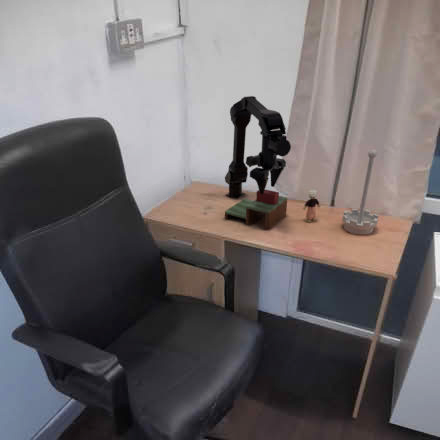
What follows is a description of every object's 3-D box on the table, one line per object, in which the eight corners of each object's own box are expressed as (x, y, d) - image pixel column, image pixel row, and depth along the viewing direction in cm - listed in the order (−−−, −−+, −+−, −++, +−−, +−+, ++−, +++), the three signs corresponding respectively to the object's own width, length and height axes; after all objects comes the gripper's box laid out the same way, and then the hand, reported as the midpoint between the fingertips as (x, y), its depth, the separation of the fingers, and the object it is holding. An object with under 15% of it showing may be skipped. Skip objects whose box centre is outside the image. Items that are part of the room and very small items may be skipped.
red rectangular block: (260, 198, 168) (260, 188, 166) (278, 202, 164) (279, 192, 162) (256, 201, 166) (256, 191, 163) (274, 205, 162) (274, 195, 160)
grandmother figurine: (312, 216, 172) (316, 186, 165) (319, 219, 169) (323, 189, 162) (299, 221, 168) (302, 190, 161) (306, 224, 166) (309, 193, 159)
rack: (244, 206, 182) (244, 188, 177) (286, 216, 173) (287, 197, 168) (224, 219, 171) (224, 200, 166) (268, 230, 162) (269, 211, 157)
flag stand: (375, 237, 156) (393, 156, 139) (340, 233, 159) (353, 153, 142) (375, 223, 166) (392, 146, 149) (342, 219, 169) (354, 143, 152)
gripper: (262, 140, 164) (260, 179, 173) (237, 152, 151) (237, 193, 160) (287, 144, 159) (284, 184, 168) (264, 156, 146) (262, 199, 155)
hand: (267, 190), depth 163 cm, fingers open, 9 cm apart
